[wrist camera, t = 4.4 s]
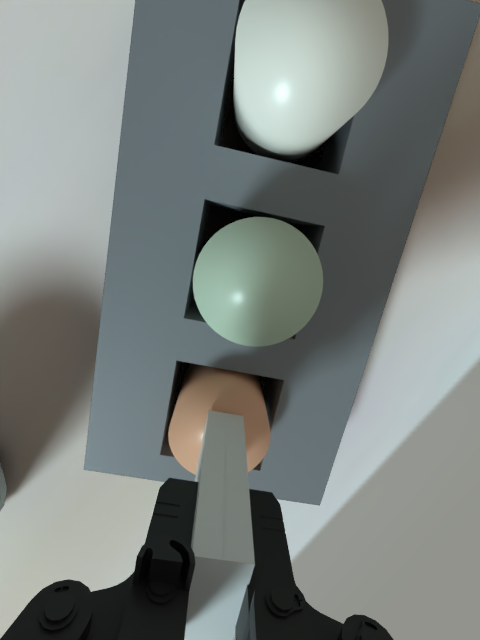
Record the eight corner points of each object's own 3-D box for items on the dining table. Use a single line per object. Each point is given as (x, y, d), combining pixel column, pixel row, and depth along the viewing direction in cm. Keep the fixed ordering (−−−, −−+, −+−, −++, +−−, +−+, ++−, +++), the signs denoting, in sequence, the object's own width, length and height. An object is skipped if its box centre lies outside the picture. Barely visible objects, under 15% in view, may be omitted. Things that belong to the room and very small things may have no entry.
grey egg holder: (167, -12, 15) (146, -94, 11) (421, 58, 16) (483, 4, 12) (111, 424, 21) (83, 469, 17) (303, 455, 22) (319, 505, 18)
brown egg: (190, 342, 19) (177, 382, 14) (268, 357, 19) (281, 400, 14) (177, 412, 20) (161, 471, 15) (251, 425, 20) (258, 486, 15)
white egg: (244, 33, 14) (253, -70, 9) (348, 61, 14) (409, -24, 9) (224, 149, 15) (221, 112, 10) (320, 172, 15) (362, 147, 10)
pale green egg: (212, 210, 16) (205, 203, 11) (305, 231, 16) (338, 232, 11) (196, 303, 17) (182, 333, 12) (283, 320, 17) (304, 356, 12)
